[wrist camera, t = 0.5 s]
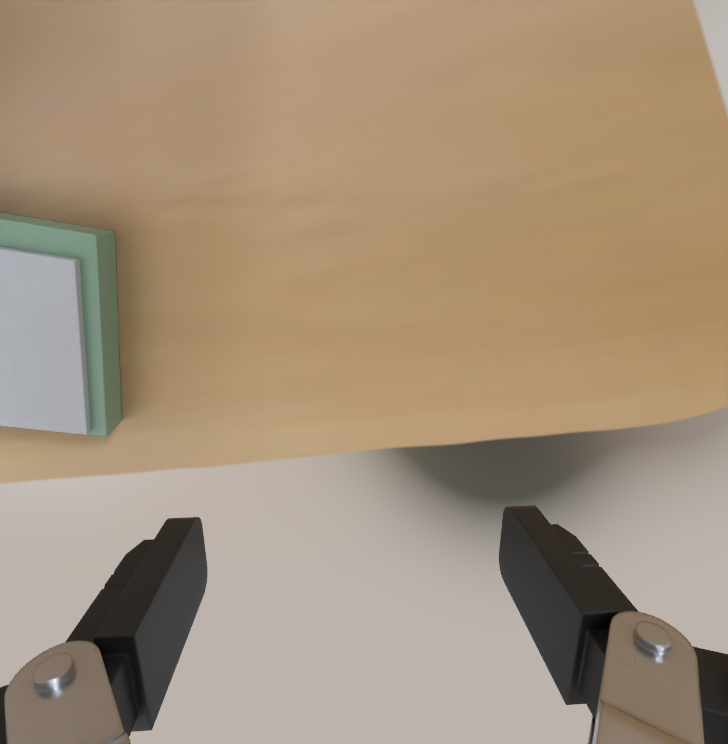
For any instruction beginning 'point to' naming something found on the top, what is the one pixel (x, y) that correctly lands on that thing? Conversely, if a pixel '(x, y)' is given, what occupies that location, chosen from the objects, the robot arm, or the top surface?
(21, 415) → the scale
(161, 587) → the robot arm
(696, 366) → the top surface
